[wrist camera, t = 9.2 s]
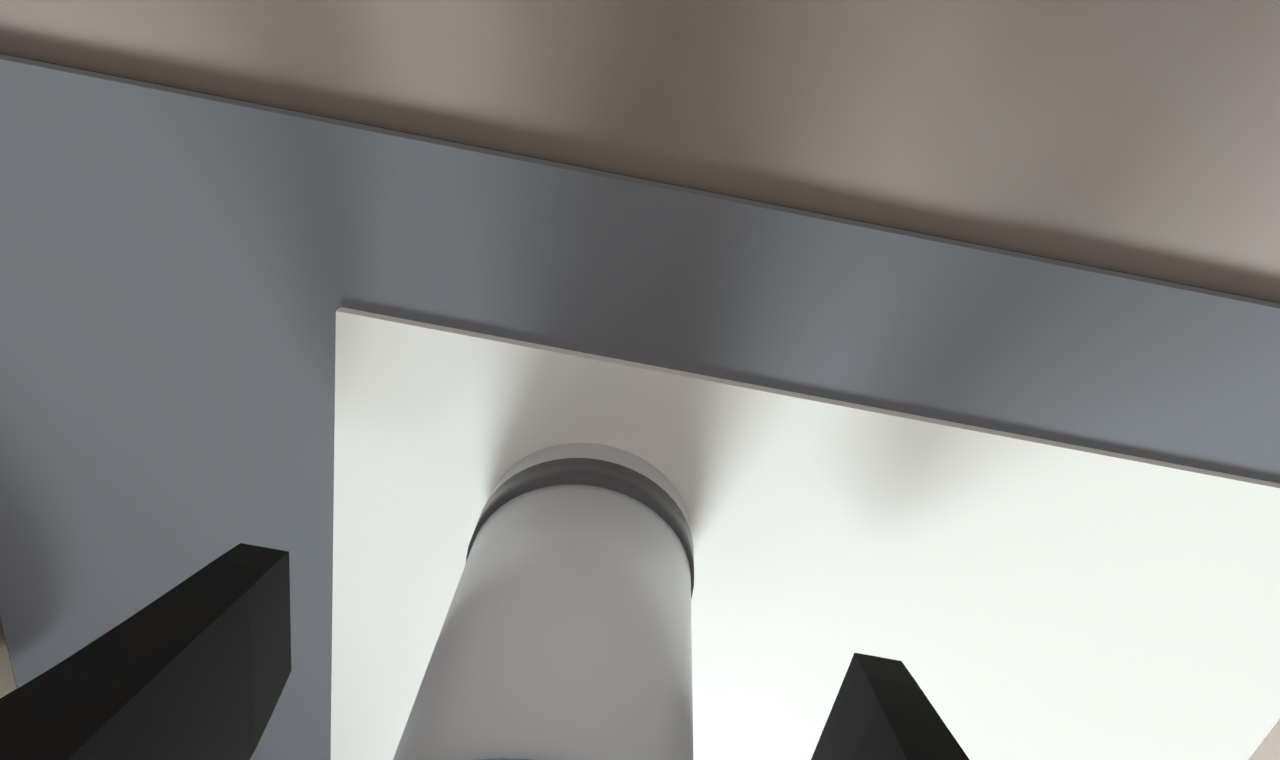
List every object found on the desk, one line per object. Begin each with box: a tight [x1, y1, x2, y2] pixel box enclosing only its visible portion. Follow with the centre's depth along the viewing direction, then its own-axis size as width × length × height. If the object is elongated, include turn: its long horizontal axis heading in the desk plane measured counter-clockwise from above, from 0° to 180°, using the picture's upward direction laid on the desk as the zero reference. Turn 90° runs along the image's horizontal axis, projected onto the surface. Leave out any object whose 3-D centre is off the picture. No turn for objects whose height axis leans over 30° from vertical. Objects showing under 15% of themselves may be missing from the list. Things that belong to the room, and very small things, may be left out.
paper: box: [330, 307, 1280, 760], centre depth 14 cm, size 12×16×1 cm
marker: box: [393, 443, 694, 760], centre depth 9 cm, size 3×3×8 cm
